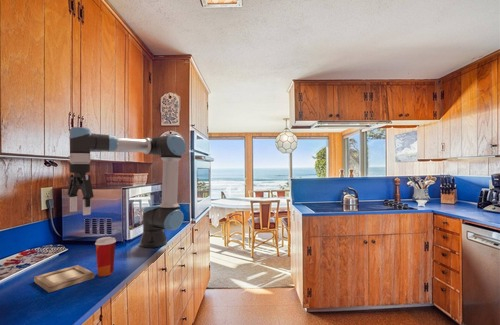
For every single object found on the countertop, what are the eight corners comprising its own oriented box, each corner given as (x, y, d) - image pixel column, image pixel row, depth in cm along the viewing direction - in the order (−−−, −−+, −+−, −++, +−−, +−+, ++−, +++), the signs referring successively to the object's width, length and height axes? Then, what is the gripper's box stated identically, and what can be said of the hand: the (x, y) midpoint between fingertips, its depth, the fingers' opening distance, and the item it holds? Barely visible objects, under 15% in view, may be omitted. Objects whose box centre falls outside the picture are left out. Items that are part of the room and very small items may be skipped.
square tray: (77, 269, 122) (77, 264, 122) (94, 278, 113) (94, 273, 113) (34, 281, 109) (34, 276, 109) (48, 292, 100) (48, 286, 100)
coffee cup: (108, 268, 123) (108, 235, 123) (120, 272, 119) (120, 237, 119) (90, 275, 116) (90, 240, 116) (102, 279, 112) (102, 242, 112)
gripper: (58, 163, 120) (58, 211, 120) (82, 163, 105) (82, 217, 105) (77, 163, 126) (77, 209, 126) (102, 163, 111) (102, 214, 111)
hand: (79, 213), depth 115 cm, fingers open, 13 cm apart
